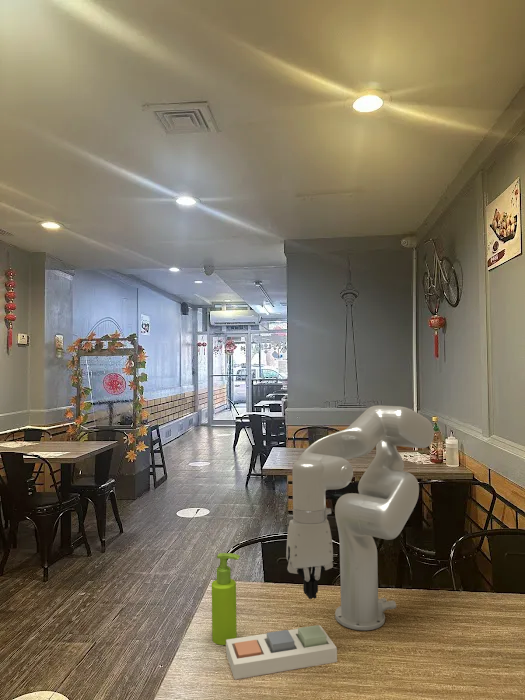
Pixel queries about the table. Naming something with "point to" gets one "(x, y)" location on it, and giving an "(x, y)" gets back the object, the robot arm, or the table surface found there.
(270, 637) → the slate button
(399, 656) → the table surface
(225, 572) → the soap dispenser
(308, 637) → the sage button
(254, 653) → the terracotta button
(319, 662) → the button panel
